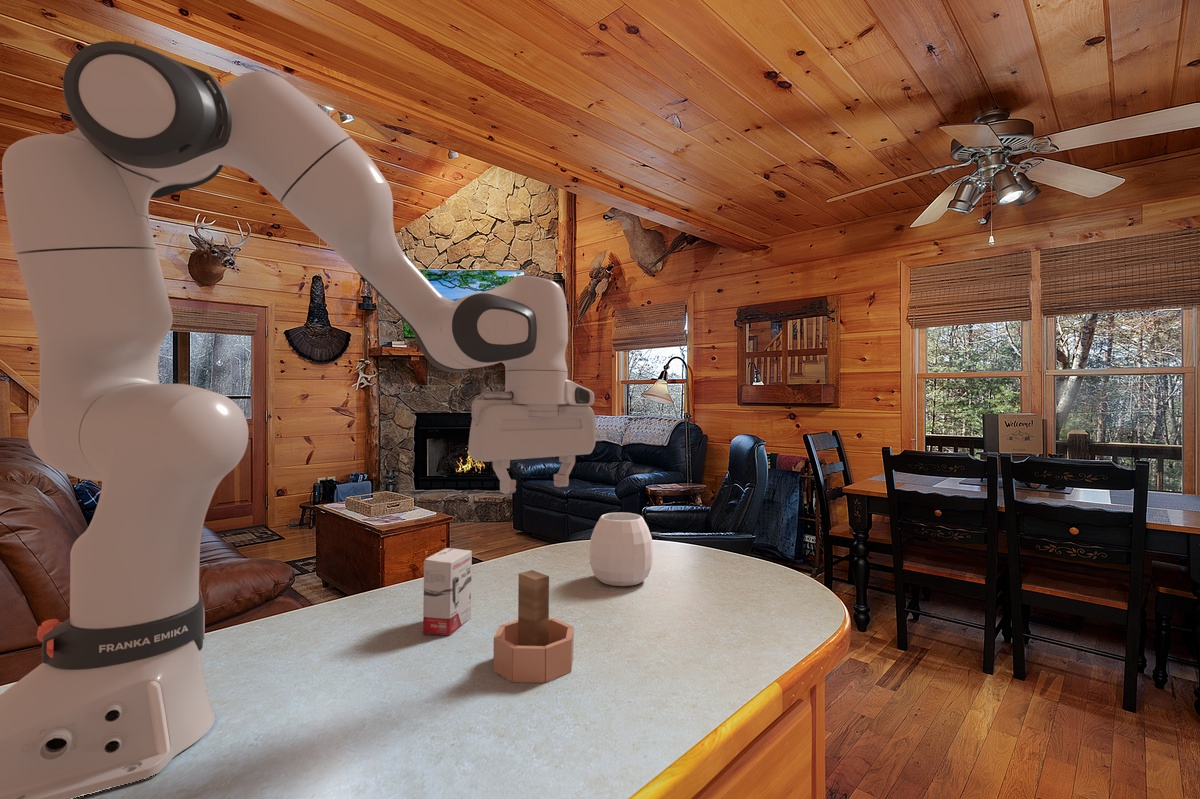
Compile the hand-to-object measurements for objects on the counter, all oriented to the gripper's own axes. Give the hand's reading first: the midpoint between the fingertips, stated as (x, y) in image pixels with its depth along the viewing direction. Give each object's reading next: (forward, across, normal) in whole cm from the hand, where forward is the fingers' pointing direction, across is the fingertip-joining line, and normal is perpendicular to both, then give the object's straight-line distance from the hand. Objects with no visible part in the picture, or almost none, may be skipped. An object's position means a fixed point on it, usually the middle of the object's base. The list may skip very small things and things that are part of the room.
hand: (535, 489), depth 82 cm
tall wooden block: (+24, 0, 0) cm, 24 cm away
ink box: (+25, -2, +21) cm, 33 cm away
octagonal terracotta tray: (+25, 0, 0) cm, 25 cm away
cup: (+25, +36, +18) cm, 47 cm away
